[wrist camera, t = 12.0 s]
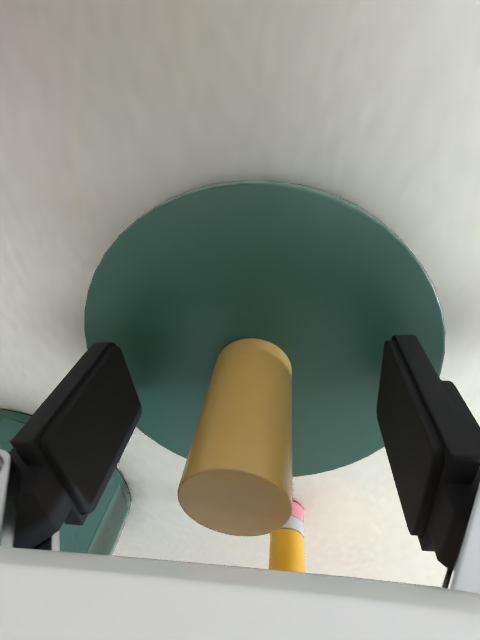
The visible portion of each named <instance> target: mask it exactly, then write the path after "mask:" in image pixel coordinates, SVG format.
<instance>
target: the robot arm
mask: <svg viewBox="0 0 480 640" xmlns="http://www.w3.org/2000/svg"><path fill="white" fill-rule="evenodd" d="M141 413H142V406H141V403H140V400H139V398H138V395H137V392H136V389H135V386H134V384H133V381H132V378H131V375H130V372H129V370H128V367H127V364H126V361H125V358H124V356H123V353H122V350H121V348H120V347H118V346H116V344H115V343H113V342H96V343H94V344H93V345H92V346H91V347H90V348H89V349H88V350H87V352H86V353H85V354H84V355H83V356H82V357H81V359H80V360H79V361H78V362H77V363H76V365H75V366H74V367H73V368H72V369H71V370H70V372H69V373H68V374H67V375H66V376H65V378H64V379H63V380H62V381H61V382H60V383H59V385H58V386H57V387H56V388H55V389H54V390H53V392H52V393H51V394H50V395H49V396H48V398H47V399H46V400H45V401H44V402H43V403H42V405H41V406H40V407H39V408H38V409H37V411H36V412H35V413H34V414H33V415H32V416H31V418H30V419H29V420H28V421H27V422H26V424H25V425H24V426H23V427H22V428H21V429H20V431H19V432H18V433H17V434H16V435H15V436H14V438H13V439H12V440H11V441H10V443H11V444H12V446H13V448H12V450H11V451H10V452H9V453H8V452H7V451H5V450H1V449H0V640H480V427H479V425H478V423H477V422H476V420H475V418H474V417H473V415H472V413H471V412H470V410H469V408H468V407H467V405H466V403H465V402H464V400H463V398H462V397H461V395H460V393H459V392H458V390H457V388H456V387H455V385H454V384H453V383H452V382H450V381H441V380H440V378H439V376H438V374H437V373H436V371H435V369H434V367H433V365H432V364H431V362H430V360H429V358H428V356H427V355H426V353H425V351H424V349H423V347H422V346H421V344H420V342H419V340H418V338H417V337H416V336H415V335H393V336H392V338H391V340H386V341H385V343H384V350H383V358H382V367H381V375H380V383H379V391H378V399H377V408H376V413H377V420H378V424H379V427H380V431H381V434H382V438H383V441H384V445H385V449H386V452H387V456H388V459H389V463H390V466H391V470H392V473H393V477H394V481H395V484H396V488H397V491H398V495H399V498H400V502H401V505H402V509H403V513H404V516H405V520H406V523H407V527H408V530H409V532H410V534H411V535H418V539H419V542H420V545H421V549H422V551H435V553H436V556H437V560H438V561H439V562H441V563H442V564H443V565H444V566H445V567H447V568H446V572H445V575H444V578H443V582H442V585H441V587H434V586H425V585H416V584H407V583H399V582H390V581H381V580H372V579H363V578H354V577H343V576H332V575H322V574H311V573H300V572H290V571H279V570H268V569H257V568H247V567H236V566H225V565H213V564H202V563H191V562H180V561H168V560H157V559H145V558H134V557H123V556H111V555H99V554H87V553H74V552H62V551H60V536H59V530H60V528H61V526H62V524H63V523H65V524H68V525H82V526H83V524H84V522H85V520H86V518H87V516H88V514H90V513H92V512H93V511H94V510H95V508H96V507H97V505H98V503H99V501H100V498H101V496H102V494H103V492H104V490H105V488H106V486H107V484H108V482H109V480H110V478H111V476H112V474H113V472H114V470H115V468H116V466H117V464H118V462H119V460H120V458H121V456H122V454H123V452H124V450H125V447H126V445H127V443H128V441H129V439H130V437H131V435H132V433H133V431H134V429H135V427H136V425H137V423H138V421H139V419H140V417H141Z"/></svg>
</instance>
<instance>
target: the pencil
mask: <svg viewBox="0 0 480 640" xmlns="http://www.w3.org/2000/svg"><path fill="white" fill-rule="evenodd" d="M269 570H279V571H290V572H300V573H305V566H304V525H303V509H302V507H301V506H300V505H299V504H298V503H296V502H293V501H292V514H291V516H290V519H289V520H288V522H287V523H286V524H285V525H284V526H282V527H281V528H280V529H278V530H276V531H274V532H271V533H270V554H269Z"/></svg>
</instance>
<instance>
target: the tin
mask: <svg viewBox="0 0 480 640" xmlns="http://www.w3.org/2000/svg"><path fill="white" fill-rule="evenodd" d="M30 418H31V416H30V415H26V414H22V413H18V412H13V411H8V410H0V449H1V450H5V451H7V452H8V453H9V452H10V451H11V450H12V448H13V446H12V444H11V443H10V441H11V440H12V439H13V438H14V436H15V435H16V434H17V433H18V432H19V431H20V429H21V428H22V427H23V426H24V425H25V424H26V422H27V421H28V420H29V419H30ZM129 510H130V494H129V490H128V487H127V485H126V483H125V481H124V479H123V477H122V476H121V474H120V473H119V472H118V470H117V469H116V468H115V470H114V472H113V474H112V476H111V478H110V480H109V482H108V484H107V486H106V488H105V490H104V492H103V494H102V496H101V498H100V501H99V503H98V505H97V507H96V508H95V510H94V511H93V512H92V513H90V514H88V516H87V518H86V520H85V522H84V524H83V526H82V525H68V524H65V523H63V524H62V526H61V528H60V530H59V536H60V551H62V552H74V553H87V554H99V555H111V556H112V554H113V552H114V549H115V547H116V545H117V542H118V540H119V537H120V535H121V532H122V530H123V527H124V523H125V520H126V517H127V515H128V512H129Z"/></svg>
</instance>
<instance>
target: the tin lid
mask: <svg viewBox="0 0 480 640" xmlns="http://www.w3.org/2000/svg"><path fill="white" fill-rule="evenodd" d="M393 335H415V336H416V337H417V338H418V340H419V342H420V344H421V346H422V347H423V349H424V351H425V353H426V355H427V356H428V358H429V360H430V362H431V364H432V365H433V367H434V369H435V371H436V373H437V374H438V376H440V373H441V368H442V363H443V359H444V354H445V327H444V320H443V314H442V309H441V306H440V303H439V300H438V297H437V294H436V291H435V288H434V286H433V284H432V282H431V281H430V279H429V277H428V275H427V273H426V272H425V270H424V268H423V266H422V265H421V264H420V262H419V261H418V260H417V259H416V257H415V256H414V255H413V253H412V252H411V251H410V250H409V248H408V247H407V246H406V245H405V244H404V242H403V241H402V240H401V239H400V238H399V237H398V236H397V235H395V234H394V233H393V232H392V231H391V230H390V229H389V228H388V227H387V226H386V225H384V224H383V223H382V222H381V221H380V220H378V219H377V218H375V217H374V216H372V215H371V214H369V213H368V212H366V211H364V210H363V209H361V208H360V207H358V206H357V205H355V204H352V203H350V202H348V201H346V200H344V199H342V198H340V197H337V196H335V195H333V194H331V193H328V192H324V191H321V190H318V189H314V188H311V187H308V186H304V185H300V184H293V183H287V182H280V181H274V180H240V181H232V182H224V183H216V184H212V185H208V186H205V187H201V188H198V189H194V190H190V191H187V192H185V193H183V194H181V195H178V196H176V197H174V198H172V199H169V200H167V201H165V202H163V203H162V204H160V205H158V206H157V207H155V208H154V209H152V210H151V211H149V212H148V213H146V214H144V215H143V216H142V217H140V218H139V219H137V220H136V221H135V222H134V223H133V224H132V225H131V226H129V227H128V228H127V229H126V230H125V231H124V232H123V233H122V234H121V235H119V237H118V238H117V239H116V240H115V242H114V243H113V244H112V245H111V247H110V248H109V249H108V250H107V252H106V253H105V255H104V256H103V258H102V260H101V262H100V264H99V265H98V267H97V269H96V271H95V273H94V276H93V279H92V281H91V284H90V287H89V290H88V295H87V301H86V306H85V336H86V343H87V349H89V348H90V347H91V346H92V345H93V344H94V343H96V342H113V343H115V344H116V346H118V347H120V348H121V350H122V353H123V356H124V358H125V361H126V364H127V367H128V370H129V372H130V375H131V378H132V381H133V384H134V386H135V389H136V392H137V395H138V398H139V400H140V403H141V406H142V413H141V417H140V419H139V421H138V423H137V425H136V427H137V428H138V429H140V430H141V431H142V432H143V433H144V434H145V435H147V436H148V437H150V438H151V439H153V440H154V441H155V442H157V443H158V444H160V445H162V446H163V447H165V448H167V449H169V450H170V451H172V452H174V453H176V454H178V455H180V456H182V457H184V458H186V459H187V461H186V465H185V468H184V471H183V475H182V478H181V481H180V485H179V488H178V500H179V503H180V505H181V507H182V509H183V510H184V511H185V512H186V514H187V515H188V516H190V517H191V518H192V519H193V520H195V521H196V522H198V523H199V524H201V525H203V526H205V527H207V528H209V529H212V530H214V531H217V532H221V533H225V534H229V535H236V536H258V535H264V534H268V533H271V532H274V531H276V530H278V529H280V528H281V527H282V526H284V525H285V524H286V523H287V522H288V520H289V519H290V516H291V514H292V477H297V476H304V475H311V474H317V473H321V472H326V471H330V470H334V469H337V468H340V467H343V466H346V465H349V464H352V463H354V462H356V461H358V460H361V459H363V458H365V457H367V456H369V455H371V454H373V453H374V452H376V451H378V450H379V449H381V448H383V447H384V446H385V445H384V441H383V438H382V434H381V431H380V427H379V424H378V420H377V413H376V408H377V399H378V391H379V383H380V375H381V367H382V358H383V350H384V343H385V341H386V340H391V338H392V336H393Z"/></svg>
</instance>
